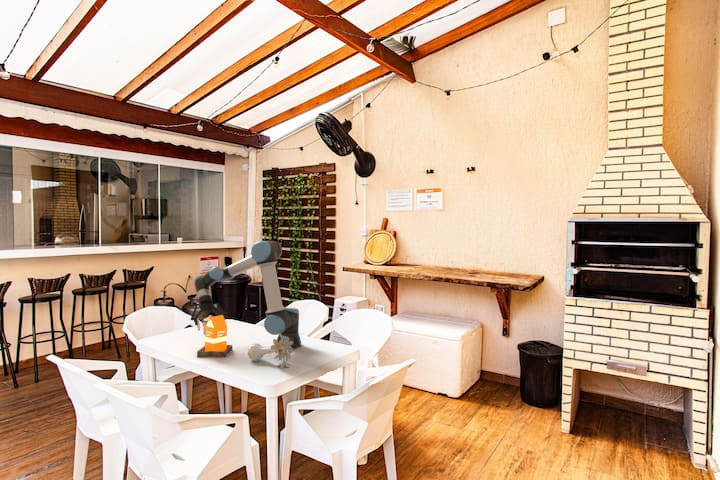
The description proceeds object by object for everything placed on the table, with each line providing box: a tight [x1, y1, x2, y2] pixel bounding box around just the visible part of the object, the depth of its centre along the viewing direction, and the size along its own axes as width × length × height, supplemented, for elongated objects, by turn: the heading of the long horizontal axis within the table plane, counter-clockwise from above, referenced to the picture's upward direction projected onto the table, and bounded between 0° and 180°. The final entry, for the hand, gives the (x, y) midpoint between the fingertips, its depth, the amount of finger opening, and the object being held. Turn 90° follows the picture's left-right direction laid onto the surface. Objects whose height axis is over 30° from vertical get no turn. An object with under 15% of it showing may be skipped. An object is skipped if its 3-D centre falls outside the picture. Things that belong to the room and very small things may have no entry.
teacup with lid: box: [202, 314, 213, 335], centre depth 280 cm, size 12×9×12 cm
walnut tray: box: [196, 344, 233, 358], centre depth 233 cm, size 15×14×3 cm
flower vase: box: [247, 333, 295, 369], centre depth 218 cm, size 13×18×25 cm
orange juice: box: [204, 315, 228, 351], centre depth 233 cm, size 8×9×20 cm
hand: (211, 328), depth 238 cm, fingers open, 13 cm apart
